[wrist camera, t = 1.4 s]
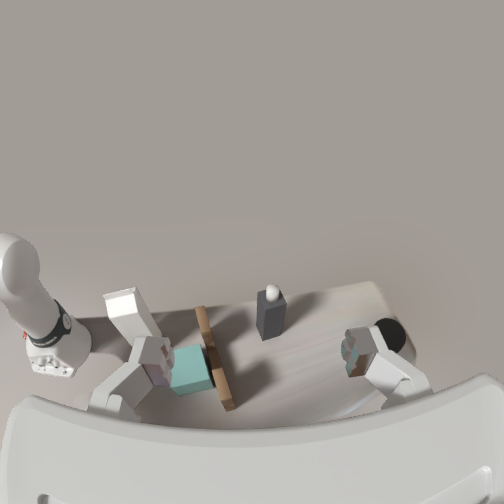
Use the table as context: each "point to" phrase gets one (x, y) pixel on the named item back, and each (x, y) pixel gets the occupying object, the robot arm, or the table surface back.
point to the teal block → (190, 371)
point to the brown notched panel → (214, 360)
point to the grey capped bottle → (270, 312)
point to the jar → (392, 333)
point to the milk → (130, 314)
